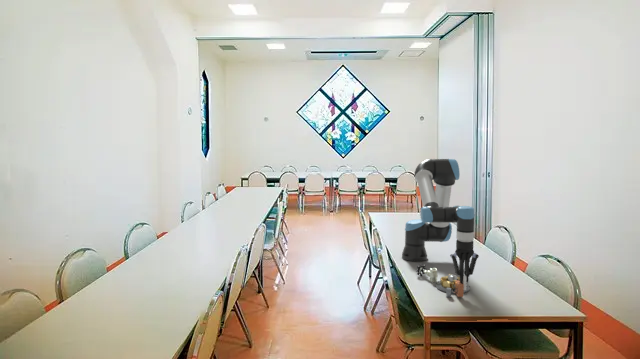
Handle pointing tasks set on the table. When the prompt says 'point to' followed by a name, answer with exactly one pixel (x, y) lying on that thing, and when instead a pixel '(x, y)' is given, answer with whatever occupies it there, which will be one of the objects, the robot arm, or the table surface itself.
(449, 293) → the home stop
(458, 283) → the tan and copper piece
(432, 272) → the valve
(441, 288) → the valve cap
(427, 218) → the robot arm
